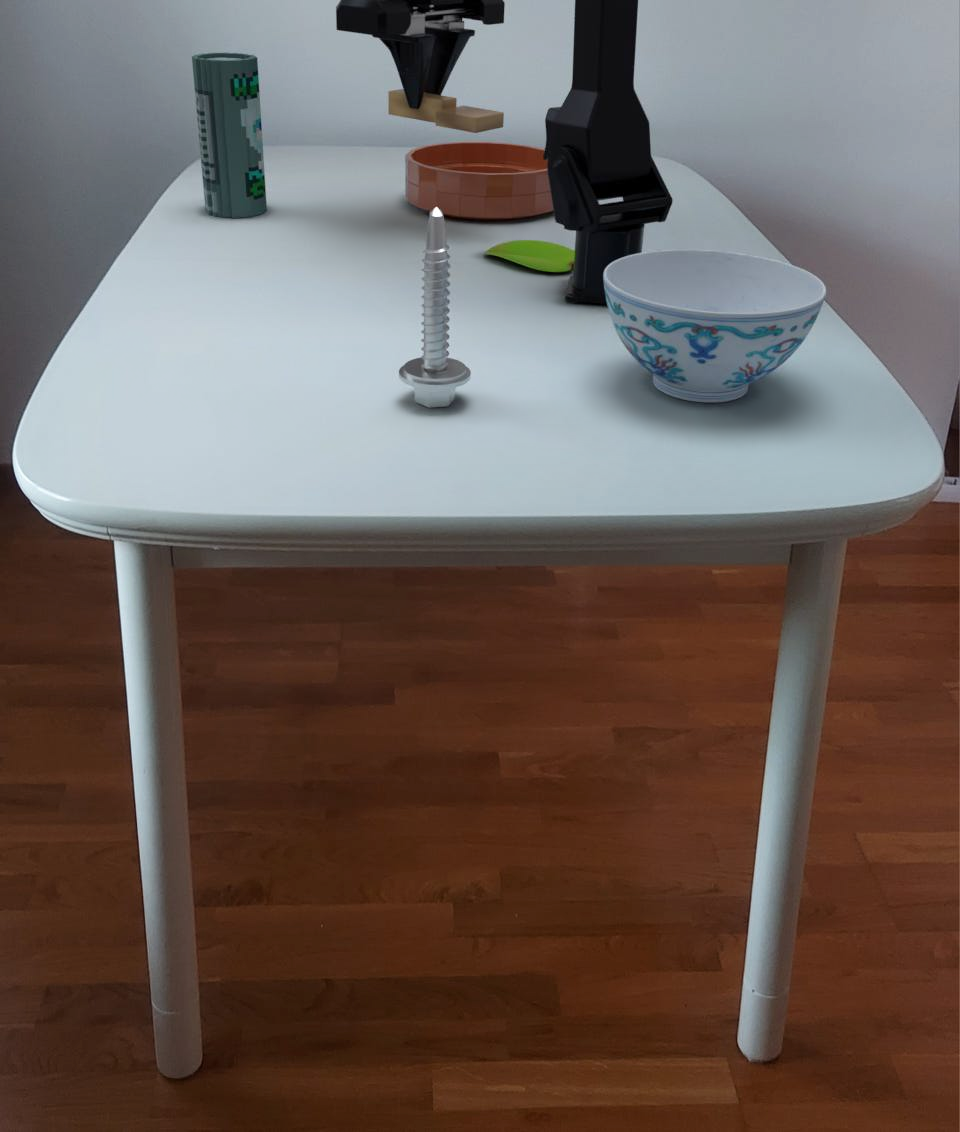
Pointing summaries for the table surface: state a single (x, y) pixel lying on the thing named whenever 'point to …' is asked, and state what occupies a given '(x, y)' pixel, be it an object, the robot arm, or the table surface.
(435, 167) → the bowl
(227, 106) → the can
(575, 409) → the table surface
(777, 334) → the chinaware
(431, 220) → the screw
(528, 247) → the decorative leaf
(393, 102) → the stepped wooden block
